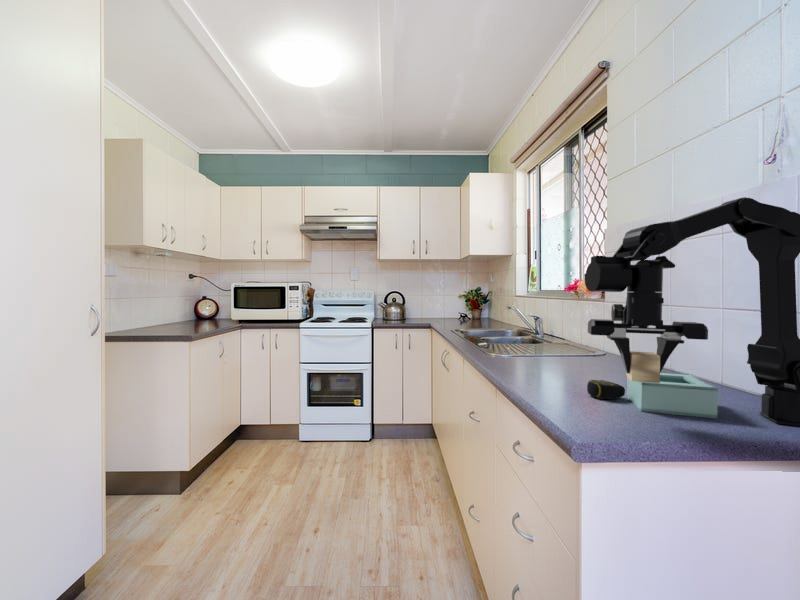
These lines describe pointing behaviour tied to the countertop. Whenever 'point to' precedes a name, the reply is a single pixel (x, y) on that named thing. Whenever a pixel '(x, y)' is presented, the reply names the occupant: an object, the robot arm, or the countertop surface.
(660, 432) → the countertop surface
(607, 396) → the tape measure
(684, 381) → the teal box
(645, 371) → the pine block
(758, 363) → the robot arm
